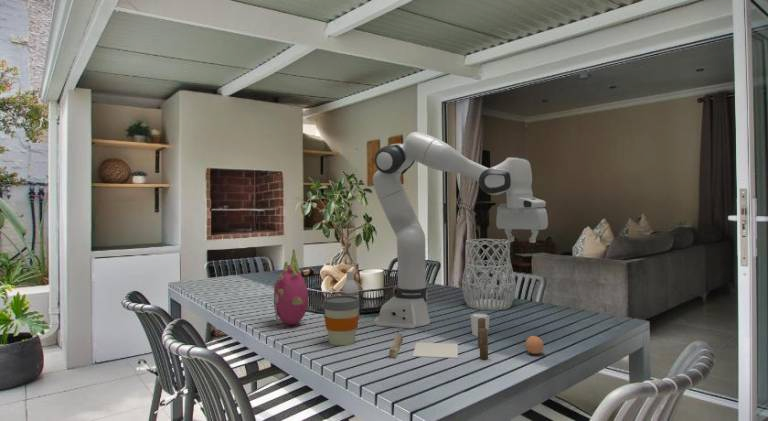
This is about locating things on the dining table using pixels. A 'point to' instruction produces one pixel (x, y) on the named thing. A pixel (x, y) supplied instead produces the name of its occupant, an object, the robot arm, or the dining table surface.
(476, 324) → the shot glass
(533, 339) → the ball
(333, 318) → the reusable coffee cup
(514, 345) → the dining table surface
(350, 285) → the bath foam
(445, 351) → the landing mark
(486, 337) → the post
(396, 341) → the stopper rail
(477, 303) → the vase
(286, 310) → the pink dragon fruit
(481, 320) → the post
